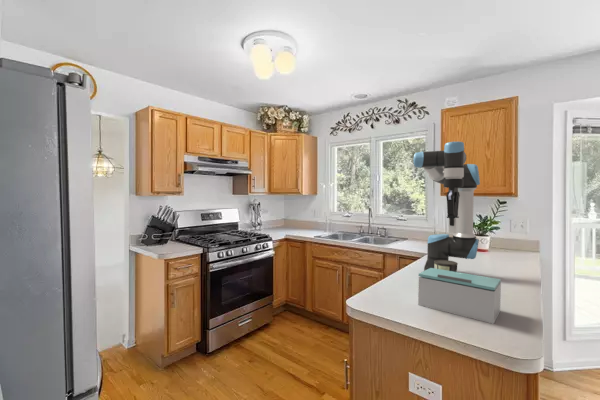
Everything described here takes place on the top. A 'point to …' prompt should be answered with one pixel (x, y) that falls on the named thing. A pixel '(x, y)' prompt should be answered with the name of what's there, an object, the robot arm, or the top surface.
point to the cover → (461, 278)
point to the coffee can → (446, 265)
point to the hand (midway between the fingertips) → (452, 233)
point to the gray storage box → (460, 299)
